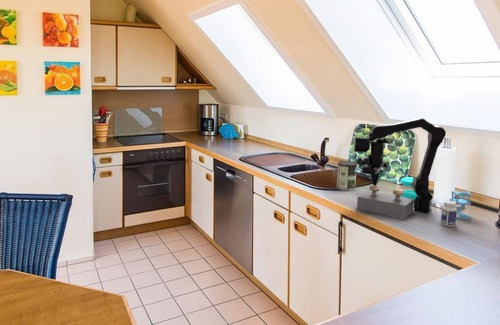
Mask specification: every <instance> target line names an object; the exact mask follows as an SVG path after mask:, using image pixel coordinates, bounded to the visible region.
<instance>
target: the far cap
mask: <svg viewBox="0 0 500 325" xmlns="http://www.w3.org/2000/svg"><path fill="white" fill-rule="evenodd" d="M380 187H381V186H379V185H378V184H377V185H376V186H374V185H373V184H370V185H369V191H370V192H372V196H373V197H376V193H378V192H379V191H380Z"/></svg>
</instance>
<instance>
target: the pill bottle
mask: <svg viewBox="0 0 500 325" xmlns="http://www.w3.org/2000/svg"><path fill="white" fill-rule="evenodd" d="M457 211H458V209H457V205H456V202H454V201H450V200H444V201H443V206H442V208H441V217H440V224H441V226H444V227H448V228H449V227H450V228H451V227H455V226H456V223H457V219H456V217H458V216H457V215H458V214H457Z"/></svg>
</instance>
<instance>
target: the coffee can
mask: <svg viewBox="0 0 500 325" xmlns="http://www.w3.org/2000/svg"><path fill="white" fill-rule="evenodd" d="M357 166H358V164H357V161H356V162H355V161H351V160H350V161H348V160H340V161H338V162H337V174H336V175H337V176H336V178H337V179H336V180H337V181H336V189H338V188H339V189H338V190H341V191H342V190H343V191H353V190H356V189H357V188H356V184H357V168H358V167H357Z"/></svg>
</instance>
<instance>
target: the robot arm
mask: <svg viewBox="0 0 500 325" xmlns="http://www.w3.org/2000/svg"><path fill="white" fill-rule="evenodd" d="M418 128H419V129H420V128H421V129H423V130H424V131H426V132H427V146H426V149H425V152H424V157H423V160H422V163H421V166H420V170H419V173H418V174H417V176H413V182H412V183H411V185H412V187H411V190H413V191H414V192H415V193H416V195H417V197H416V199H415V200H414V205H413V212H419V213H424V214H429V213H430V212H431V211H432V210H433V209H432V200H433V198H434V196H433V195H432V194H431V192H430V191H429V185H430V183H429V182H430V181H429V180H430V175H431V171H432V168H433V164H434V160H435V158H436V155H437V152H438V148H439V147H440V145H441V144H442V142H443V141H444V139H445V137H446V134H447V132H446V130H445V128H443V127H441V126H439V125H434V124H432V123H431V122H429V121H427V120H426V119H425V118H423V117H418V118H414V119H408V120H405V121H399V122H396V123H391V124H390V123H387V124H386V123H385V124H382V123H381V124H374V125H373V126H372V127H371V130H370V132H369V133H368V135H367V136H366V137H359V136H356V137H355V138H354V143H353V152H354V153H368V151H370V154H368V156H367V157H363V156H362V157H358V158H357V160H356V163H357V166H358V167H359V168H360V167H362V168H361V173H362V174H365V175H366V174H367V175H370V177H371V181H372V185H374V186H376V185H377V186H378V184H379V182H380V179H381V177H382V176H383V174H384V173H385V170H384V169H383V168H385V169H389V168H390V163H389V162H388V161H384V158H385V156H386V155H385V154H384V150H385V149H384V148H385V144H389V143H390V142H389V141H388V140H387V138H386V137H388V136H390V135H392V134H395V133H399V132H404V131H405V132H406V131H409V130H413V129H418ZM363 166H364V167H363Z"/></svg>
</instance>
